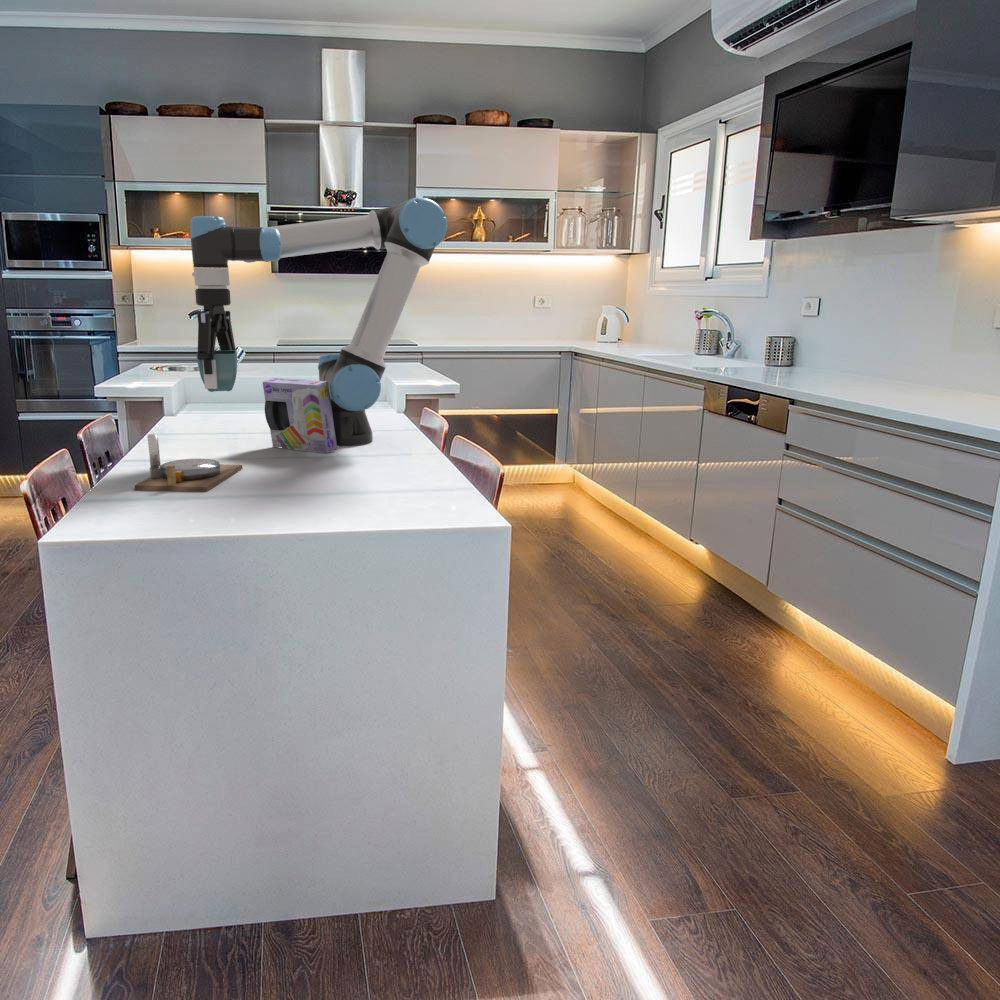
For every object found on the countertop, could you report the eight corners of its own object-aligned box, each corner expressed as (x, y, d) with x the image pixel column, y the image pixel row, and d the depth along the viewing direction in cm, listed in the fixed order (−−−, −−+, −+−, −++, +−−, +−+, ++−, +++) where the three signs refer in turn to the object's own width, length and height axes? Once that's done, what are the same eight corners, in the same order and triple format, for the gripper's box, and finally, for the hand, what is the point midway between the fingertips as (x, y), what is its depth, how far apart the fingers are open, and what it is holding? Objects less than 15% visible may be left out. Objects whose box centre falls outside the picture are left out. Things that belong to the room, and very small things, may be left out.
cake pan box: (267, 447, 217) (259, 379, 212) (281, 442, 222) (273, 375, 216) (325, 455, 208) (318, 384, 203) (338, 450, 213) (332, 380, 207)
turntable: (213, 465, 190) (210, 425, 188) (226, 477, 180) (223, 435, 177) (146, 471, 184) (142, 430, 181) (156, 484, 173) (151, 441, 170)
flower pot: (199, 393, 194) (195, 354, 191) (201, 388, 202) (198, 350, 199) (239, 392, 196) (236, 353, 193) (240, 387, 204) (237, 349, 202)
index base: (242, 469, 193) (241, 447, 191) (206, 491, 172) (204, 467, 171) (178, 467, 193) (176, 446, 192) (134, 490, 173) (132, 466, 172)
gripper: (214, 286, 204) (222, 379, 210) (175, 288, 182) (184, 391, 188) (245, 287, 203) (251, 380, 209) (209, 288, 182) (217, 392, 188)
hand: (219, 385), depth 199 cm, fingers closed on flower pot, 10 cm apart
